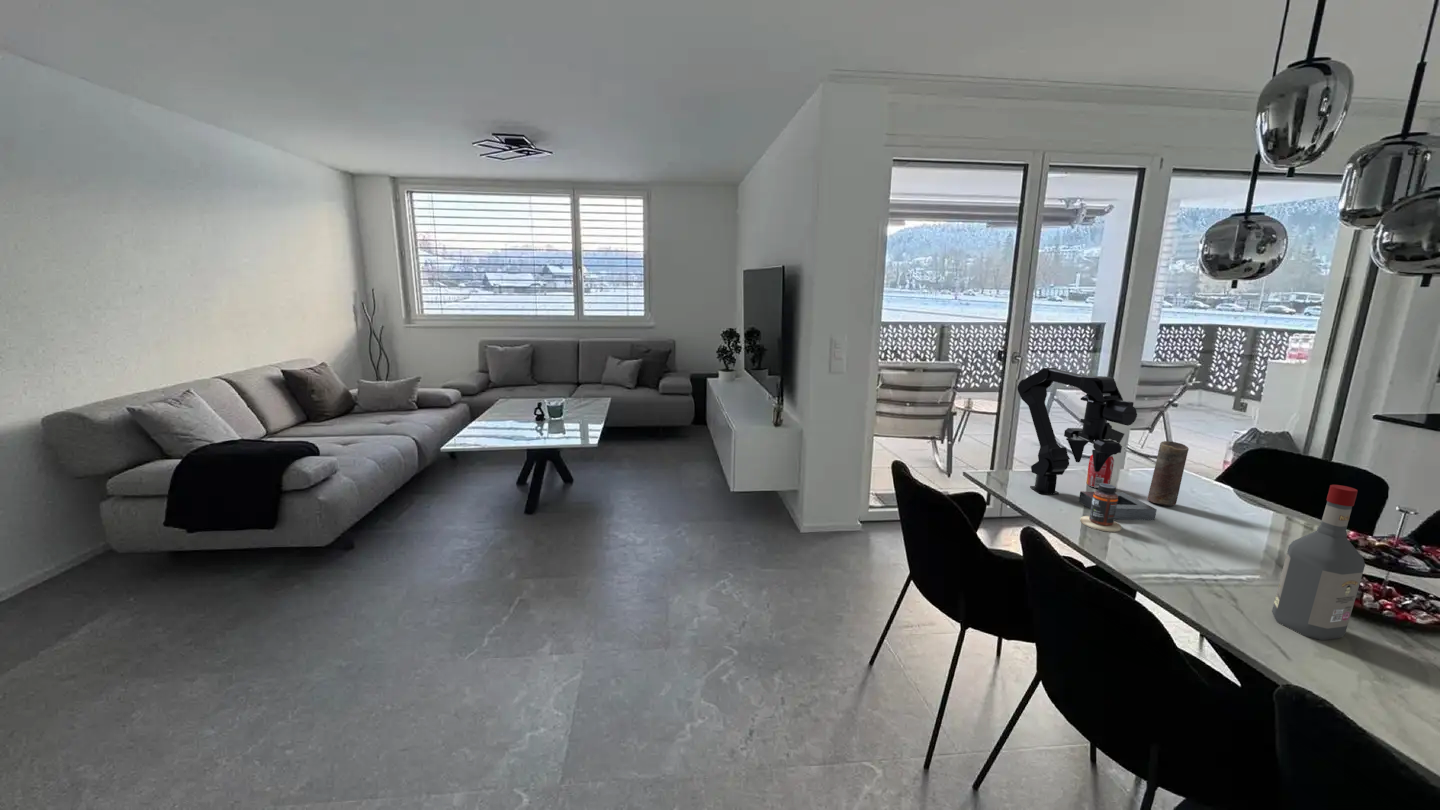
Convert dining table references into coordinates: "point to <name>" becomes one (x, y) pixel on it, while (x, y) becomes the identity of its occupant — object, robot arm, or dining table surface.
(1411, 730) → the dining table surface
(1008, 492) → the dining table surface
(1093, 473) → the soda can
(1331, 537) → the grey bottle
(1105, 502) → the supplement bottle
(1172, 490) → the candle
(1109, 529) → the coaster pad
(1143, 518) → the socket plate
